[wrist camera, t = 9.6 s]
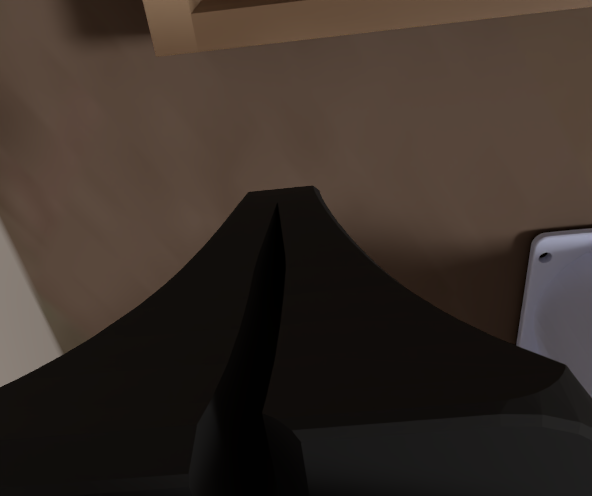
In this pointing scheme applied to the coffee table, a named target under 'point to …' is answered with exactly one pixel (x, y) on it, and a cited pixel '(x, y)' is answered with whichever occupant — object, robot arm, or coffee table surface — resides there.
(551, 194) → the coffee table surface
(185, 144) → the coffee table surface
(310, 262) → the robot arm
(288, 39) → the cubby
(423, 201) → the coffee table surface
